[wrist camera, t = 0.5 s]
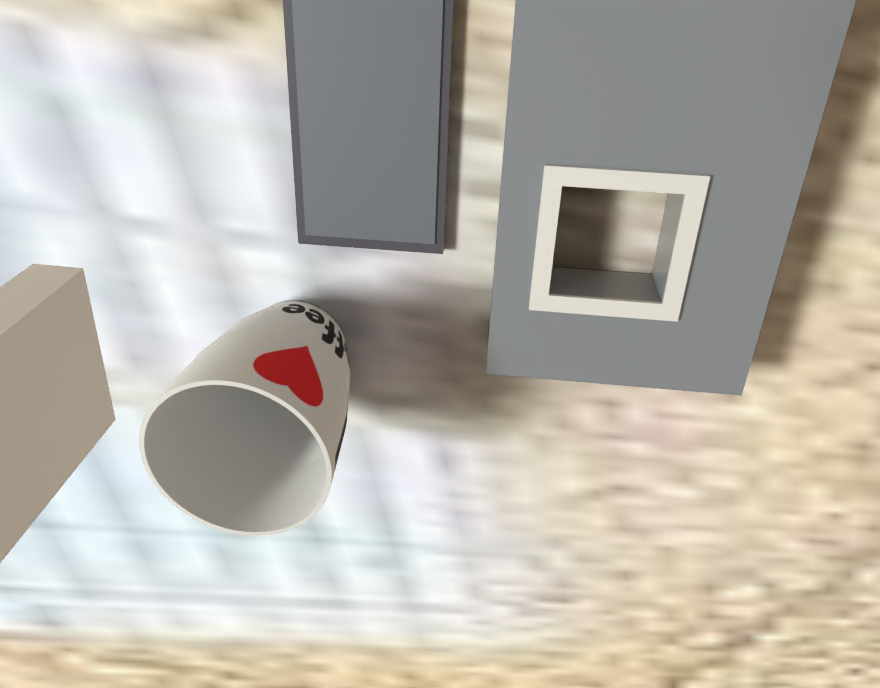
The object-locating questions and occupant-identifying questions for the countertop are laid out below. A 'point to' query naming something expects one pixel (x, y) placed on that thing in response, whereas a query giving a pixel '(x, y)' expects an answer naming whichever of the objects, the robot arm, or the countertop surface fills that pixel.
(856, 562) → the countertop surface
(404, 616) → the countertop surface
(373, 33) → the phone
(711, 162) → the plate
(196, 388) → the cup
